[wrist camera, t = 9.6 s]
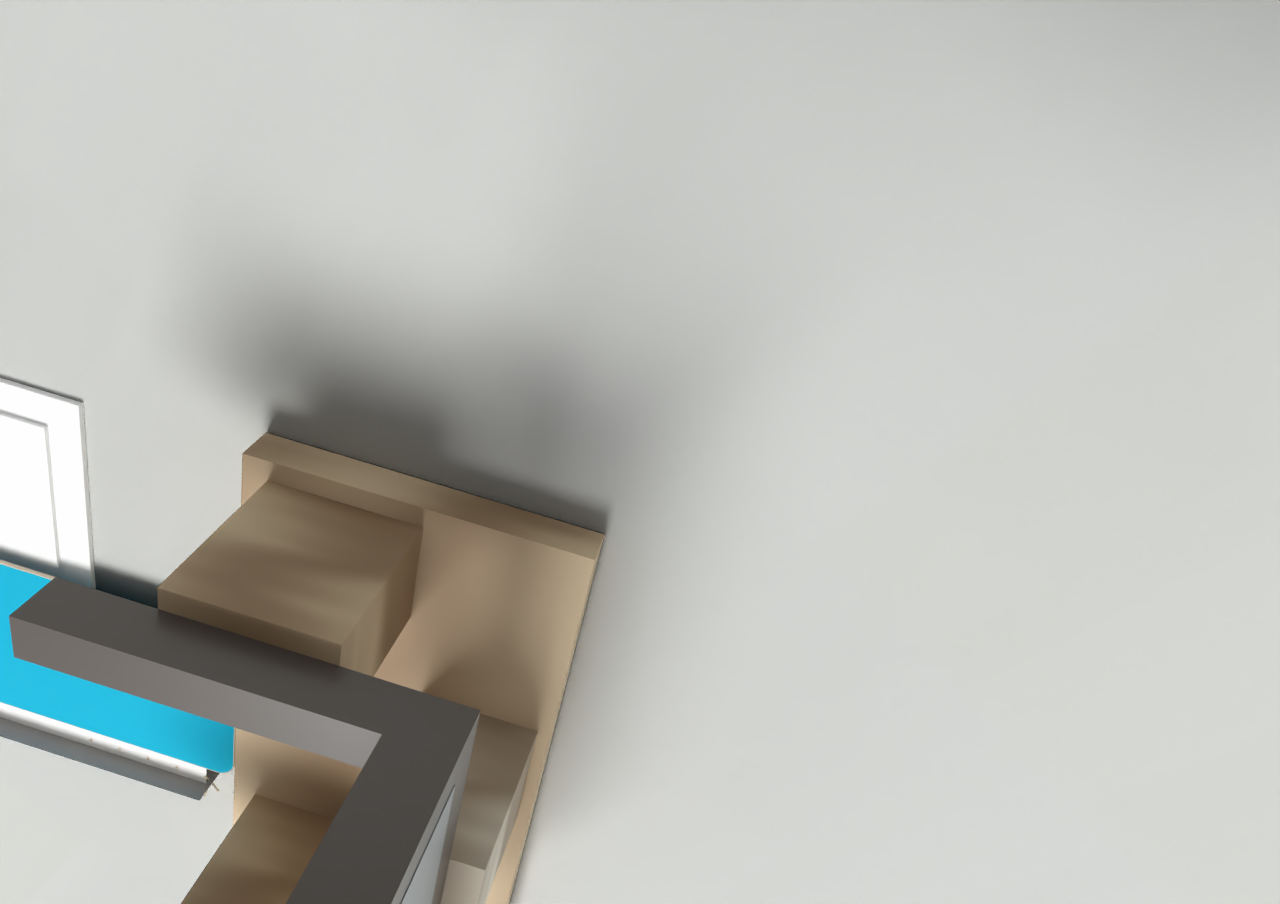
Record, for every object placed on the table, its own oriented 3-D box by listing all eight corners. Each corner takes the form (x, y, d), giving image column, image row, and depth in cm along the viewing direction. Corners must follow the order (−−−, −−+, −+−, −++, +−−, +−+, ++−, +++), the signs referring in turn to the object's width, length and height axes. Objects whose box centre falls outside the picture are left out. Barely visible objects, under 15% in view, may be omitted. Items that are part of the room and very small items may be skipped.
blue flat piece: (427, 492, 23) (398, 530, 22) (380, 822, 29) (355, 869, 28) (-353, 255, 24) (-430, 276, 22) (-242, 621, 30) (-297, 657, 28)
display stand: (604, 534, 22) (545, 686, 18) (506, 913, 29) (446, 1089, 25) (266, 432, 22) (125, 556, 18) (250, 831, 29) (147, 989, 25)
